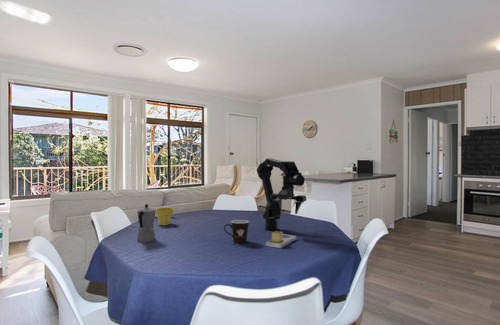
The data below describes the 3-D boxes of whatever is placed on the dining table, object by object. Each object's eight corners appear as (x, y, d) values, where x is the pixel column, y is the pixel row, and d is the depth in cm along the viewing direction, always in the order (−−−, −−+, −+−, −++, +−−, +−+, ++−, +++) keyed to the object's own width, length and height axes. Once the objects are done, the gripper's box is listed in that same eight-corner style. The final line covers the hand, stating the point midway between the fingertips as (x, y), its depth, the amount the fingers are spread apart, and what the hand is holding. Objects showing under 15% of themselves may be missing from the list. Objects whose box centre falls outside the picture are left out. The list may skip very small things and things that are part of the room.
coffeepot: (141, 236, 154) (142, 202, 154) (159, 236, 154) (159, 202, 154) (129, 244, 139) (129, 206, 139) (149, 244, 139) (149, 207, 139)
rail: (265, 245, 139) (265, 241, 139) (281, 237, 154) (281, 233, 154) (280, 248, 134) (280, 244, 134) (295, 239, 150) (295, 235, 150)
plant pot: (166, 221, 191) (166, 206, 191) (176, 223, 185) (176, 208, 185) (152, 224, 182) (152, 208, 182) (163, 226, 176) (163, 210, 176)
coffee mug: (250, 240, 148) (251, 220, 148) (245, 244, 140) (245, 224, 140) (229, 238, 152) (229, 218, 152) (222, 242, 144) (223, 222, 143)
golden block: (271, 245, 139) (271, 232, 139) (275, 243, 143) (275, 231, 143) (279, 246, 137) (279, 233, 137) (282, 244, 141) (282, 232, 141)
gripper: (265, 184, 155) (265, 214, 155) (299, 186, 146) (298, 217, 146) (275, 183, 165) (275, 211, 165) (306, 185, 155) (306, 214, 155)
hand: (288, 213), depth 157 cm, fingers open, 9 cm apart
